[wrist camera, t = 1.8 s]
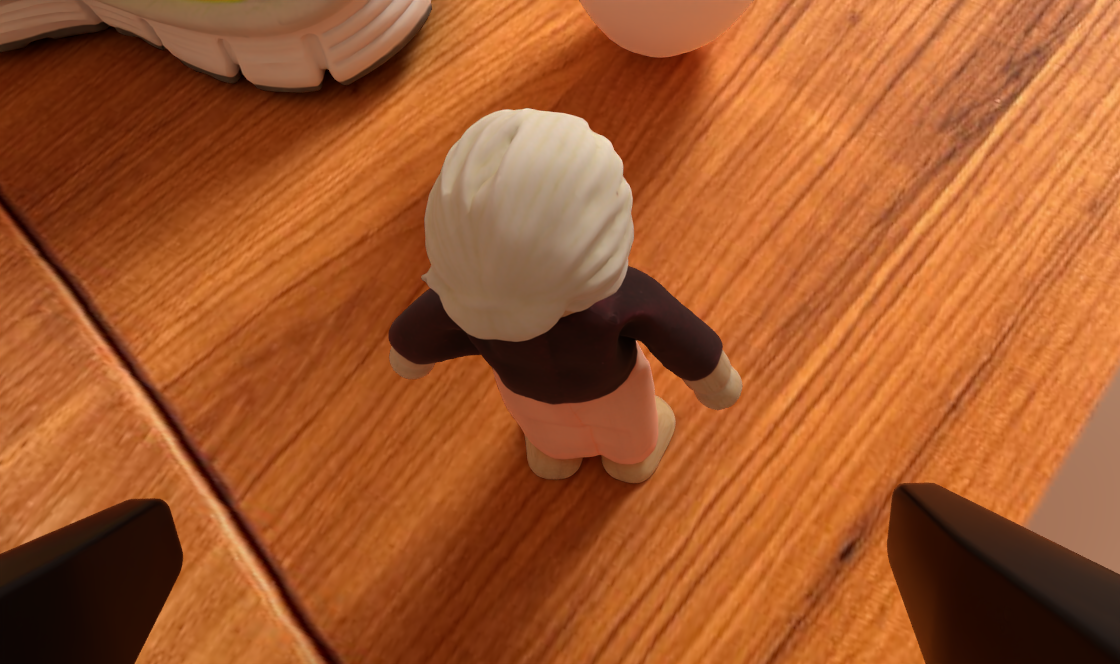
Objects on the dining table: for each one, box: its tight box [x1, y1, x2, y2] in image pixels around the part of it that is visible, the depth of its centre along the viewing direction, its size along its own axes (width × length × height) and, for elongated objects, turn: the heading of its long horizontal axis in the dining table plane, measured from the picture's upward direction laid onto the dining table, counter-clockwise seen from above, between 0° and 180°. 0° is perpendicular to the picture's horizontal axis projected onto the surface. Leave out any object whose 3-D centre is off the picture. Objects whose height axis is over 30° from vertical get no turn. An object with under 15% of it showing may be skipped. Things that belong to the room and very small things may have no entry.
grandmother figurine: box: [389, 108, 742, 483], centre depth 15 cm, size 8×4×13 cm, turn 95°
